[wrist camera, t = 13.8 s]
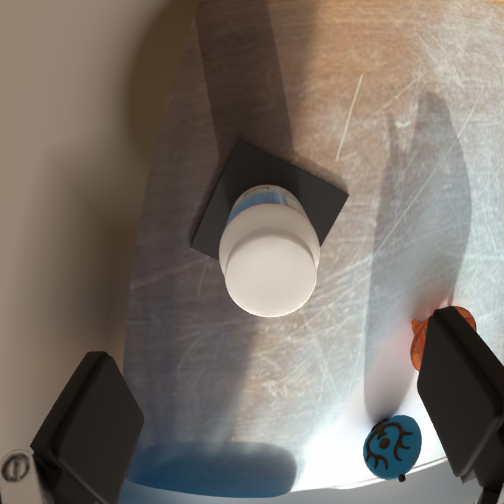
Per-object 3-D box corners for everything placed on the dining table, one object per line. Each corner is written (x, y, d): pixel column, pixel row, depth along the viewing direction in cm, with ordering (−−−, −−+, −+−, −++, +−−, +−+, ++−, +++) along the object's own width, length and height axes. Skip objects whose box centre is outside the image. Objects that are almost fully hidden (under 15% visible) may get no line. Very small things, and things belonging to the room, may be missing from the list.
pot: (386, 357, 31) (411, 386, 25) (411, 288, 30) (444, 305, 24) (440, 365, 32) (469, 391, 25) (464, 303, 31) (499, 320, 24)
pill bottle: (226, 248, 28) (204, 320, 17) (236, 177, 26) (217, 209, 15) (296, 260, 28) (313, 336, 17) (311, 190, 26) (343, 231, 15)
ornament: (400, 398, 34) (424, 459, 25) (416, 410, 35) (439, 466, 26) (349, 432, 37) (362, 493, 27) (368, 442, 38) (382, 499, 28)
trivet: (190, 246, 28) (190, 247, 28) (238, 139, 25) (238, 139, 24) (293, 292, 29) (293, 293, 29) (348, 194, 26) (349, 195, 26)
